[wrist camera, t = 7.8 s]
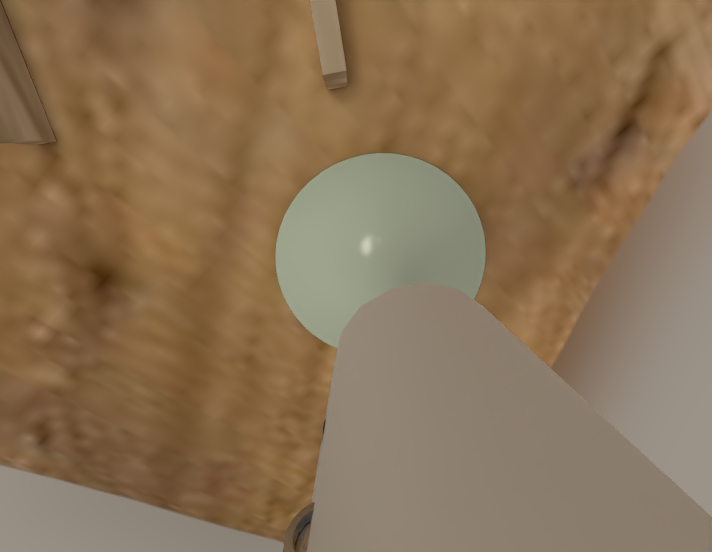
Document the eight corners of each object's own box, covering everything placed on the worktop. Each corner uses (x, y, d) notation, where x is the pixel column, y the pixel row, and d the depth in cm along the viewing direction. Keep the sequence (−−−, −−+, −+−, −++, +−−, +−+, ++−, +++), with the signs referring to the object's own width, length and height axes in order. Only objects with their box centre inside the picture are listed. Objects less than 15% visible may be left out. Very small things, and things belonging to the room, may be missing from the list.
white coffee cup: (534, 407, 13) (1025, 1065, 4) (362, 462, 14) (391, 1143, 4) (487, 238, 11) (1268, 684, 2) (289, 312, 12) (40, 937, 2)
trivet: (474, 134, 23) (478, 133, 22) (487, 334, 27) (491, 339, 26) (254, 174, 23) (251, 174, 22) (302, 364, 27) (300, 370, 27)
